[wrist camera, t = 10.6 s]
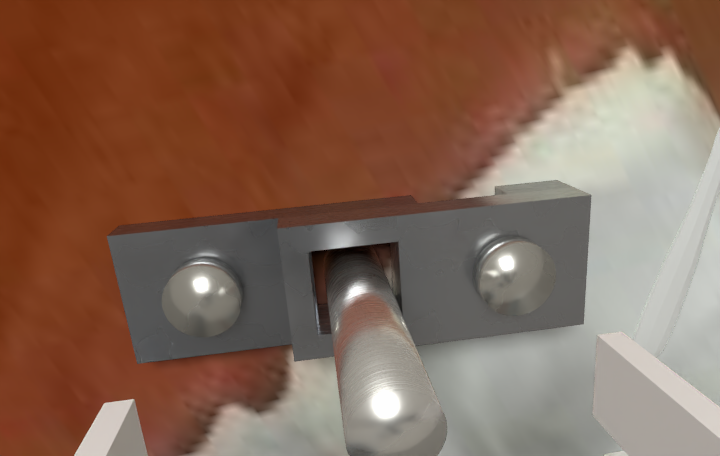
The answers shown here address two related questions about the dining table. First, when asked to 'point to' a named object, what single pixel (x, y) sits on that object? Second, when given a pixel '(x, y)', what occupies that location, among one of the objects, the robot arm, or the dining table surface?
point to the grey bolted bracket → (348, 229)
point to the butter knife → (679, 263)
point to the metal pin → (378, 363)
